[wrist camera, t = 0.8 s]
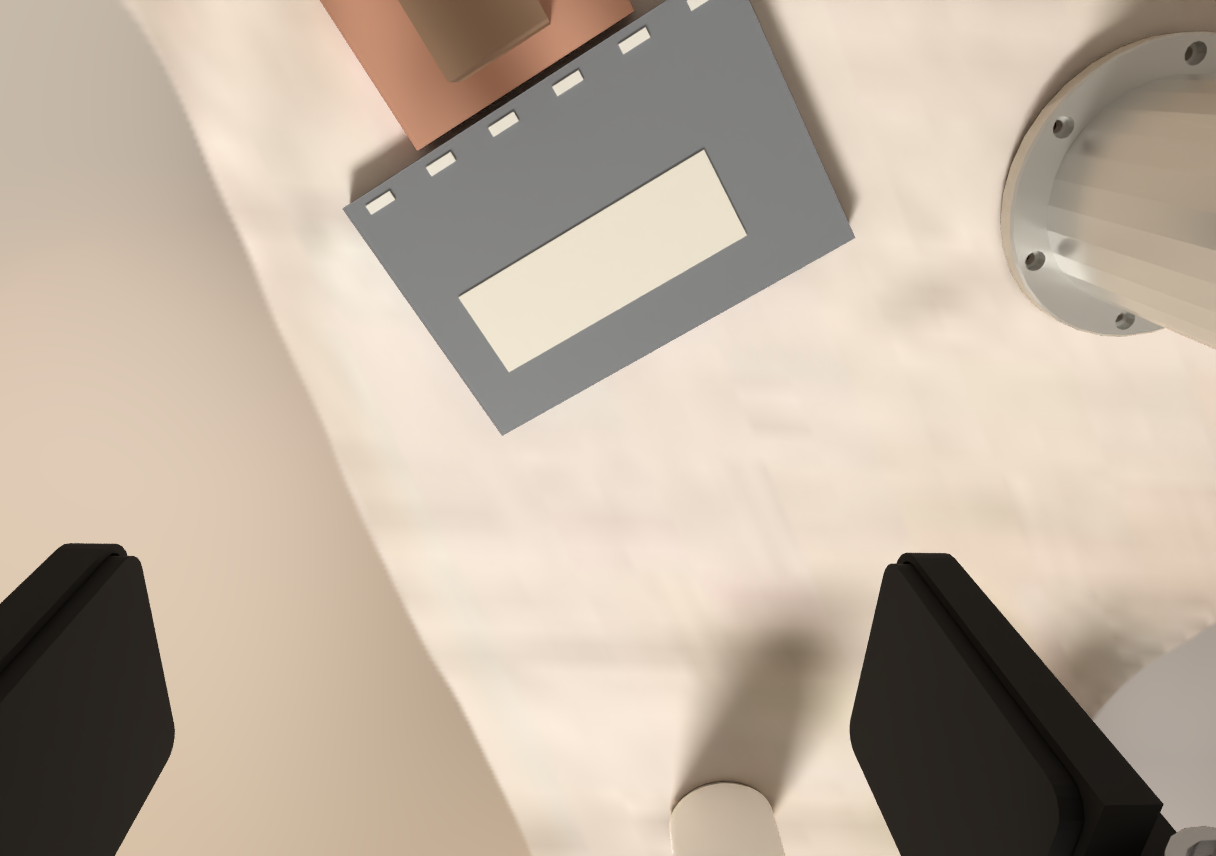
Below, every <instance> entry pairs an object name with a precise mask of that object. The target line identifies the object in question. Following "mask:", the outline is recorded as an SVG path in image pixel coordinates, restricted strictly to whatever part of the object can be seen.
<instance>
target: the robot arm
mask: <svg viewBox="0 0 1216 856" xmlns="http://www.w3.org/2000/svg"><path fill="white" fill-rule="evenodd" d="M1055 122H1057V126H1056V129H1055V130H1054V131H1053V126H1054V124H1055ZM1000 223H1001V234H1002V244H1003V250H1004V253H1005V257H1006V260H1007V263H1008V266H1009V269H1010V272H1011V274H1012V276H1013V277H1014V279H1015V281H1016V282H1017V284H1018V286H1019V288H1020V289H1021V291H1022V292H1023V293H1024V294H1025V295H1026V297H1027V298H1028V299H1029V300H1030V301H1031V302H1032V303H1033V304H1034V305H1035V306H1036V307H1037V308H1038V309H1040V310H1041V311H1043V312H1044V313H1046V314H1047V315H1049V316H1051V317H1052V318H1054V319H1055V320H1057V321H1059V322H1061V323H1063V324H1066V325H1068V326H1070V327H1072V328H1074V329H1076V330H1080V331H1084V332H1088V333H1092V334H1096V335H1100V336H1117V337H1122V336H1132V335H1138V334H1145V333H1152V332H1155V331H1158V330H1161V329H1164V328H1167V329H1169V330H1171V331H1174V332H1176V333H1178V334H1181V335H1183V336H1185V337H1188V338H1190V339H1193V340H1195V341H1197V342H1200V343H1202V344H1204V345H1207V346H1209V347H1211V348H1214V349H1216V33H1214V32H1208V31H1203V32H1178V33H1171V34H1165V35H1159V36H1152V37H1148V38H1145V39H1142V40H1139V41H1137V42H1134V43H1131V44H1128V45H1126V46H1123V47H1120V48H1118V49H1116V50H1114V51H1113V52H1111V53H1109V54H1107V55H1106V56H1104V57H1102V58H1100V59H1099V60H1097V61H1095V62H1093V63H1092V64H1090V65H1089V66H1088V67H1086V68H1085V69H1084V70H1083V71H1081V72H1080V73H1079V74H1078V75H1077V76H1075V77H1074V78H1073V79H1072V80H1070V81H1069V82H1068V83H1067V84H1065V85H1064V86H1063V88H1062V89H1061V90H1060V91H1059V92H1058V93H1057V94H1056V95H1055V96H1054V97H1053V98H1052V100H1051V101H1050V102H1049V103H1048V104H1047V105H1046V106H1045V107H1044V108H1043V109H1042V111H1041V112H1040V114H1039V115H1038V117H1037V118H1036V120H1035V121H1034V123H1033V124H1032V126H1031V127H1030V129H1029V130H1028V132H1027V133H1026V135H1025V136H1024V138H1023V141H1022V143H1021V145H1020V147H1019V149H1018V151H1017V154H1016V156H1015V158H1014V160H1013V162H1012V164H1011V167H1010V171H1009V175H1008V178H1007V182H1006V185H1005V189H1004V192H1003V200H1002V210H1001V221H1000ZM1029 254H1030V256H1029V259H1028V260H1027V261H1026V259H1027V256H1028V255H1029ZM1025 261H1026V262H1025ZM174 735H175V729H174V722H173V717H172V712H171V707H170V702H169V697H168V693H167V687H166V682H165V677H164V672H163V668H162V662H161V658H160V653H159V648H158V643H157V639H156V633H155V628H154V623H153V618H152V613H151V608H150V604H149V599H148V594H147V589H146V584H145V579H144V574H143V569H142V566H141V562H140V561H139V559H138V558H137V557H135V556H127V553H126V551H125V550H124V548H123V547H122V546H120V545H118V544H82V543H81V544H80V543H74V544H73V543H70V544H64V545H62V546H61V547H59V548H58V549H57V550H56V551H55V552H54V553H53V554H52V555H50V556H49V557H48V558H47V559H46V560H45V561H44V562H43V563H42V564H41V565H40V566H39V567H38V568H37V569H36V570H35V571H34V572H33V573H32V574H31V575H30V576H29V577H28V578H27V579H26V580H25V581H23V582H22V583H21V584H20V585H19V586H18V587H17V588H16V589H15V590H14V591H13V592H12V593H11V594H10V595H9V596H8V597H7V598H6V599H5V600H4V601H3V602H2V603H1V604H0V856H115V854H116V852H117V851H118V849H119V847H120V845H121V843H122V842H123V840H124V838H125V836H126V834H127V833H128V831H129V829H130V827H131V825H132V824H133V822H134V820H135V818H136V816H137V815H138V813H139V811H140V809H141V807H142V806H143V804H144V802H145V800H146V799H147V797H148V795H149V793H150V791H151V790H152V788H153V786H154V784H155V782H156V781H157V779H158V777H159V775H160V773H161V772H162V770H163V768H164V766H165V764H166V763H167V761H168V758H169V756H170V754H171V751H172V748H173V743H174ZM850 739H851V744H852V748H853V751H854V753H855V756H856V758H857V760H858V762H859V764H860V767H861V769H862V771H863V773H864V775H865V778H866V780H867V782H868V784H869V786H870V789H871V791H872V793H873V795H874V797H875V800H876V802H877V804H878V806H879V808H880V810H881V813H882V815H883V817H884V819H885V821H886V824H887V826H888V828H889V830H890V832H891V835H892V837H893V839H894V841H895V843H896V846H897V848H898V850H899V852H900V854H901V856H1216V828H1214V827H1207V826H1200V827H1191V828H1184V829H1182V830H1181V831H1179V832H1176V831H1175V830H1174V829H1173V827H1172V826H1171V825H1170V824H1169V823H1168V821H1167V820H1166V819H1165V818H1164V817H1163V815H1162V814H1161V813H1160V811H1161V809H1162V806H1163V803H1162V802H1161V801H1160V799H1159V798H1158V797H1157V796H1156V795H1155V794H1154V793H1153V791H1152V790H1151V789H1150V788H1149V787H1148V785H1147V784H1146V783H1145V782H1144V781H1143V780H1142V778H1141V777H1140V776H1139V775H1138V774H1137V773H1136V771H1135V770H1134V769H1133V768H1132V767H1131V765H1130V764H1129V763H1128V762H1127V761H1126V759H1125V758H1124V757H1123V756H1122V755H1121V754H1120V752H1119V751H1118V750H1117V749H1116V748H1115V746H1114V745H1113V744H1112V743H1111V742H1110V741H1109V739H1108V738H1107V737H1106V736H1105V735H1104V734H1103V732H1102V731H1101V730H1100V729H1099V728H1098V726H1097V725H1096V724H1095V723H1094V722H1093V721H1092V719H1091V718H1090V717H1089V716H1088V715H1087V713H1086V712H1085V711H1084V710H1083V709H1082V708H1081V706H1080V705H1079V704H1078V703H1077V702H1076V701H1075V699H1074V698H1073V697H1072V696H1071V695H1070V693H1069V692H1068V691H1067V690H1066V689H1065V688H1064V686H1063V685H1062V684H1061V683H1060V682H1059V681H1058V679H1057V678H1056V677H1055V676H1054V675H1053V673H1052V672H1051V671H1050V670H1049V669H1048V668H1047V666H1046V665H1045V664H1044V663H1043V662H1042V660H1041V659H1040V658H1039V657H1038V656H1037V655H1036V653H1035V652H1034V651H1033V650H1032V649H1031V648H1030V646H1029V645H1028V644H1027V643H1026V642H1025V640H1024V639H1023V638H1022V637H1021V636H1020V635H1019V633H1018V632H1017V631H1016V630H1015V629H1014V628H1013V626H1012V625H1011V624H1010V623H1009V622H1008V620H1007V619H1006V618H1005V617H1004V616H1003V615H1002V613H1001V612H1000V611H999V610H998V609H997V607H996V606H995V605H994V604H993V603H992V602H991V600H990V599H989V598H988V597H987V596H986V595H985V593H984V592H983V591H982V590H981V589H980V587H979V586H978V585H977V584H976V583H975V582H974V580H973V579H972V578H971V577H970V576H969V575H968V573H967V572H966V571H965V570H964V569H963V567H962V566H961V565H960V564H959V563H958V562H957V560H956V559H955V558H954V557H953V556H951V555H950V554H946V553H905V554H903V555H901V556H900V558H899V559H898V561H897V564H890V565H888V566H887V567H886V569H885V572H884V575H883V579H882V583H881V588H880V592H879V597H878V601H877V605H876V610H875V614H874V619H873V623H872V627H871V632H870V636H869V641H868V645H867V649H866V654H865V658H864V663H863V667H862V671H861V676H860V680H859V685H858V689H857V693H856V698H855V702H854V707H853V711H852V715H851V720H850Z"/></svg>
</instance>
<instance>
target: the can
mask: <svg viewBox="0 0 1216 856" xmlns="http://www.w3.org/2000/svg"><path fill="white" fill-rule="evenodd" d="M670 837H671V846H672V854H673V856H785V853H784V849H783V846H782V842H781V838H780V835H779V831H778V828H777V824H776V821H775V817H774V814H773V811H772V808H771V806H770V804H769V802H768V801H767V799H766V798H765V797H764V796H763V795H762V794H761V793H760V792H758V791H757V790H755V789H753V788H751V787H749V786H746V785H743V784H739V783H734V782H714V783H709V784H706V785H703V786H700V787H698V788H696V789H694V790H692V791H691V792H689V793H688V794H687V795H685V796H684V797H683V798H682V799H681V801H680V802H679V803H678V804H677V805H676V807H675V808H674V810H673V812H672V814H671V817H670Z"/></svg>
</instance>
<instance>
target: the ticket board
mask: <svg viewBox="0 0 1216 856" xmlns="http://www.w3.org/2000/svg"><path fill="white" fill-rule="evenodd" d="M343 210H344V212H345V213H346V215H347V216H348V217H349V219H350V220H351V222H352V223H353V225H354V226H355V227H356V229H357V230H358V232H359V233H360V234H361V236H362V237H363V239H364V240H365V242H366V243H367V244H368V246H369V247H370V249H371V250H372V252H373V253H374V254H375V256H376V257H377V259H378V260H379V261H380V263H381V264H382V266H383V267H384V269H385V270H386V271H387V273H388V274H389V276H390V277H391V279H392V280H393V281H394V283H395V284H396V286H397V287H398V288H399V290H400V291H401V293H402V294H403V296H404V297H405V298H406V300H407V301H408V303H409V304H410V306H411V307H412V308H413V310H414V311H415V313H416V314H417V315H418V317H419V318H420V320H421V321H422V323H423V324H424V325H425V327H426V328H427V330H428V331H429V333H430V334H431V335H432V337H433V338H434V340H435V341H436V342H437V344H438V345H439V347H440V348H441V350H442V351H443V352H444V354H445V355H446V357H447V358H448V360H449V361H450V362H451V364H452V365H453V367H454V368H455V369H456V371H457V372H458V374H459V375H460V377H461V378H462V379H463V381H464V382H465V384H466V385H467V387H468V388H469V389H470V391H471V392H472V394H473V395H474V396H475V398H476V399H477V401H478V402H479V404H480V405H481V406H482V408H483V409H484V411H485V412H486V414H487V415H488V416H489V418H490V419H491V421H492V422H493V423H494V425H495V426H496V428H497V429H498V431H499V432H500V433H501V435H502V436H503V435H504V434H506V433H508V432H510V431H512V430H513V429H515V428H517V427H519V426H521V425H522V424H524V423H526V422H528V421H529V420H531V419H533V418H535V417H537V416H538V415H540V414H542V413H544V412H546V411H547V410H549V409H551V408H553V407H554V406H556V405H558V404H560V403H562V402H563V401H565V400H567V399H569V398H570V397H572V396H574V395H576V394H578V393H579V392H581V391H583V390H585V389H587V388H588V387H590V386H592V385H594V384H595V383H597V382H599V381H601V380H603V379H604V378H606V377H608V376H610V375H612V374H613V373H615V372H617V371H619V370H620V369H622V368H624V367H626V366H628V365H629V364H631V363H633V362H635V361H636V360H638V359H640V358H642V357H644V356H645V355H647V354H649V353H651V352H653V351H654V350H656V349H658V348H660V347H661V346H663V345H665V344H667V343H669V342H670V341H672V340H674V339H676V338H677V337H679V336H681V335H683V334H685V333H686V332H688V331H690V330H692V329H694V328H695V327H697V326H699V325H701V324H702V323H704V322H706V321H708V320H710V319H711V318H713V317H715V316H717V315H719V314H720V313H722V312H724V311H726V310H727V309H729V308H731V307H733V306H735V305H736V304H738V303H740V302H742V301H743V300H745V299H747V298H749V297H751V296H752V295H754V294H756V293H758V292H760V291H761V290H763V289H765V288H767V287H768V286H770V285H772V284H774V283H776V282H777V281H779V280H781V279H783V278H785V277H786V276H788V275H790V274H792V273H793V272H795V271H797V270H799V269H801V268H802V267H804V266H806V265H808V264H809V263H811V262H813V261H815V260H817V259H818V258H820V257H822V256H824V255H826V254H827V253H829V252H831V251H833V250H834V249H836V248H838V247H840V246H842V245H843V244H845V243H847V242H849V241H850V240H852V239H854V238H855V236H854V234H853V232H852V229H851V227H850V225H849V223H848V220H847V218H846V216H845V214H844V211H843V209H842V207H841V205H840V203H839V200H838V198H837V196H836V194H835V191H834V189H833V187H832V185H831V182H830V180H829V178H828V176H827V173H826V171H825V169H824V167H823V164H822V162H821V160H820V158H819V155H818V153H817V151H816V149H815V147H814V144H813V142H812V140H811V138H810V135H809V133H808V131H807V129H806V126H805V124H804V122H803V120H802V117H801V115H800V113H799V111H798V108H797V106H796V104H795V102H794V99H793V97H792V95H791V93H790V90H789V88H788V86H787V84H786V82H785V79H784V77H783V75H782V73H781V70H780V68H779V66H778V64H777V61H776V59H775V57H774V55H773V52H772V50H771V48H770V46H769V43H768V41H767V39H766V37H765V34H764V32H763V30H762V28H761V25H760V23H759V21H758V19H757V17H756V14H755V12H754V10H753V8H752V5H751V3H750V1H749V0H666V1H665V2H663V3H662V4H660V5H658V6H657V7H655V8H654V9H652V10H651V11H649V12H648V13H646V14H644V15H643V16H641V17H640V18H638V19H637V20H635V21H634V22H632V23H630V24H629V25H627V26H626V27H624V28H623V29H621V30H620V31H618V32H616V33H615V34H613V35H612V36H610V37H609V38H607V39H606V40H604V41H602V42H601V43H599V44H598V45H596V46H595V47H593V48H592V49H590V50H588V51H587V52H585V53H584V54H582V55H581V56H579V57H578V58H576V59H574V60H573V61H571V62H570V63H568V64H567V65H565V66H564V67H562V68H560V69H559V70H557V71H556V72H554V73H553V74H551V75H550V76H548V77H546V78H545V79H543V80H542V81H540V82H539V83H537V84H536V85H534V86H532V87H531V88H529V89H528V90H526V91H525V92H523V93H522V94H520V95H518V96H517V97H515V98H514V99H512V100H511V101H509V102H508V103H506V104H504V105H503V106H501V107H500V108H498V109H497V110H495V111H494V112H492V113H490V114H489V115H487V116H486V117H484V118H483V119H481V120H480V121H478V122H476V123H475V124H473V125H472V126H470V127H469V128H467V129H466V130H464V131H462V132H461V133H459V134H458V135H456V136H455V137H453V138H452V139H450V140H448V141H447V142H445V143H444V144H442V145H441V146H439V147H438V148H436V149H434V150H433V151H431V152H430V153H428V154H427V155H425V156H424V157H422V158H420V159H419V160H417V161H416V162H414V163H413V164H411V165H410V166H408V167H406V168H405V169H403V170H402V171H400V172H399V173H397V174H396V175H394V176H392V177H391V178H389V179H388V180H386V181H385V182H383V183H382V184H380V185H378V186H377V187H375V188H374V189H372V190H371V191H369V192H368V193H366V194H364V195H363V196H361V197H360V198H358V199H357V200H355V201H354V202H352V203H350V204H349V205H347V206H346V207H344V208H343Z"/></svg>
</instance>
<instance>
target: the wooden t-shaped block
mask: <svg viewBox="0 0 1216 856" xmlns="http://www.w3.org/2000/svg"><path fill="white" fill-rule="evenodd" d="M320 1H321V3H322V4H323V6H324V7H325V9H326V11H327V12H328V14H329V15H330V17H331V18H332V20H333V21H334V23H335V24H336V26H337V28H338V29H339V31H340V32H341V34H342V35H343V37H344V38H345V40H346V42H347V43H348V45H349V46H350V48H351V49H352V51H353V52H354V54H355V55H356V57H357V59H358V60H359V62H360V63H361V65H362V66H363V68H364V69H365V71H366V72H367V74H368V76H369V77H370V79H371V80H372V82H373V83H374V85H375V86H376V88H377V89H378V91H379V93H380V94H381V96H382V97H383V99H384V100H385V102H386V103H387V105H388V107H389V108H390V110H391V111H392V113H393V114H394V116H395V117H396V119H397V120H398V122H399V124H400V125H401V127H402V128H403V130H404V131H405V133H406V134H407V136H408V137H409V139H410V141H411V142H412V144H413V145H414V147H415V148H416V150H417V151H418V150H420V149H422V148H424V147H425V146H427V145H428V144H430V143H431V142H433V141H435V140H436V139H438V138H439V137H441V136H442V135H444V134H445V133H447V132H448V131H450V130H452V129H453V128H455V127H456V126H458V125H459V124H461V123H462V122H464V121H466V120H467V119H469V118H470V117H472V116H473V115H475V114H476V113H478V112H479V111H481V110H483V109H484V108H486V107H487V106H489V105H490V104H492V103H493V102H495V101H497V100H498V99H500V98H501V97H503V96H504V95H506V94H507V93H509V92H510V91H512V90H514V89H515V88H517V87H518V86H520V85H521V84H523V83H524V82H526V81H528V80H529V79H531V78H532V77H534V76H535V75H537V74H538V73H540V72H541V71H543V70H545V69H546V68H548V67H549V66H551V65H552V64H554V63H555V62H557V61H559V60H560V59H562V58H563V57H565V56H566V55H568V54H569V53H571V52H572V51H574V50H576V49H577V48H579V47H580V46H582V45H583V44H585V43H586V42H588V41H590V40H591V39H593V38H594V37H596V36H597V35H599V34H600V33H602V32H604V31H605V30H607V29H608V28H610V27H611V26H613V25H614V24H616V23H617V22H619V21H621V20H622V19H624V18H625V17H627V16H628V15H630V14H631V13H633V12H634V9H633V7H632V5H631V3H630V1H629V0H320Z"/></svg>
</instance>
